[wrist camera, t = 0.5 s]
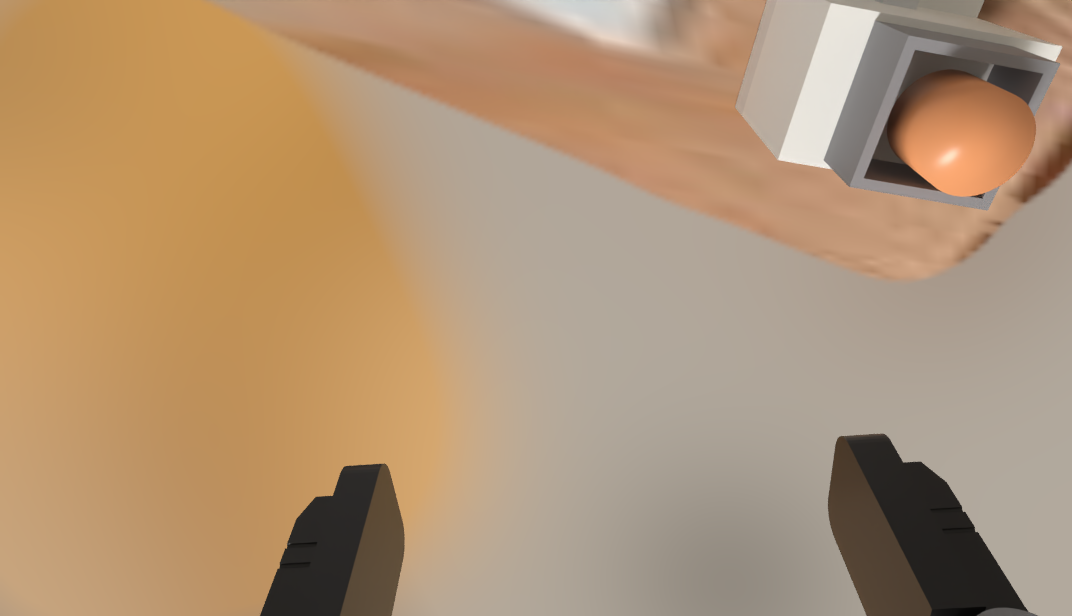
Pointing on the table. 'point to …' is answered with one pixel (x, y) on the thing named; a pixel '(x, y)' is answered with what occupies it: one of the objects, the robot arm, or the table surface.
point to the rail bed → (874, 80)
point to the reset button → (961, 132)
